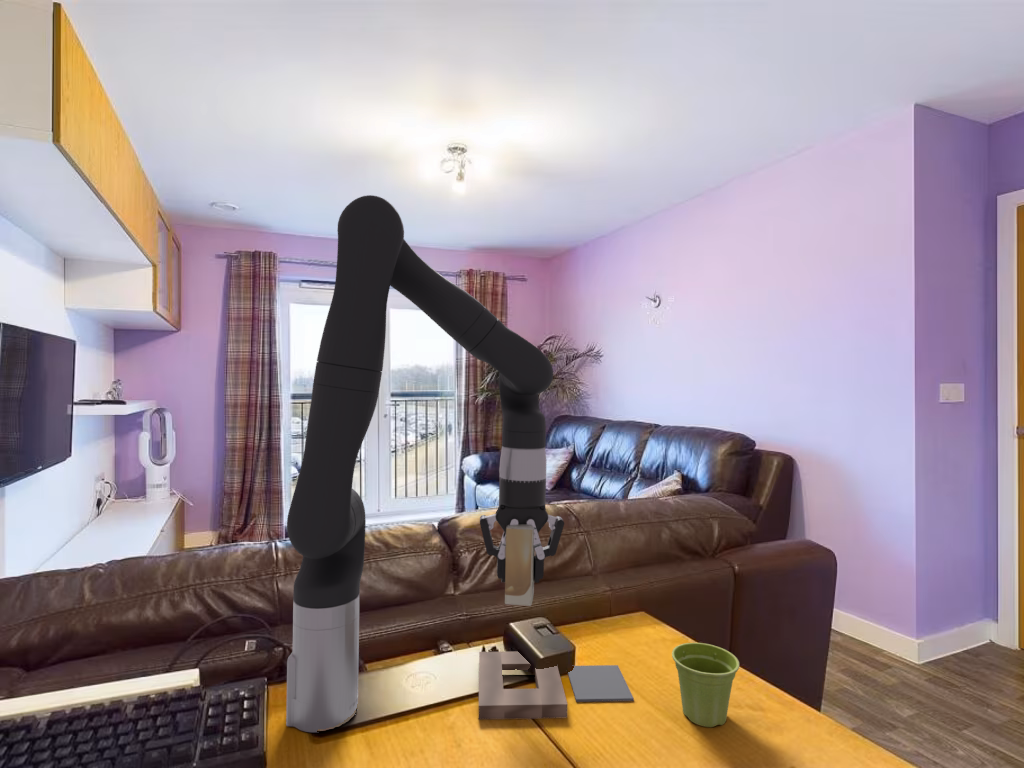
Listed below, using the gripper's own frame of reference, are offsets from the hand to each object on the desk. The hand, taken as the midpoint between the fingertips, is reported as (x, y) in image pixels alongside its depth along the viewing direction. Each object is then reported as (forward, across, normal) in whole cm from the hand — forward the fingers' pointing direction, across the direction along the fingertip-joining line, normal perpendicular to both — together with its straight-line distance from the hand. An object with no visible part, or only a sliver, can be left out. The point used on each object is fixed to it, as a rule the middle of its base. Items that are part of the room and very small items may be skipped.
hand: (520, 580), depth 87 cm
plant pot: (+17, +27, -8) cm, 33 cm away
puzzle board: (+17, 0, 0) cm, 17 cm away
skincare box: (+3, 0, 0) cm, 3 cm away
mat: (+17, +13, +1) cm, 22 cm away
